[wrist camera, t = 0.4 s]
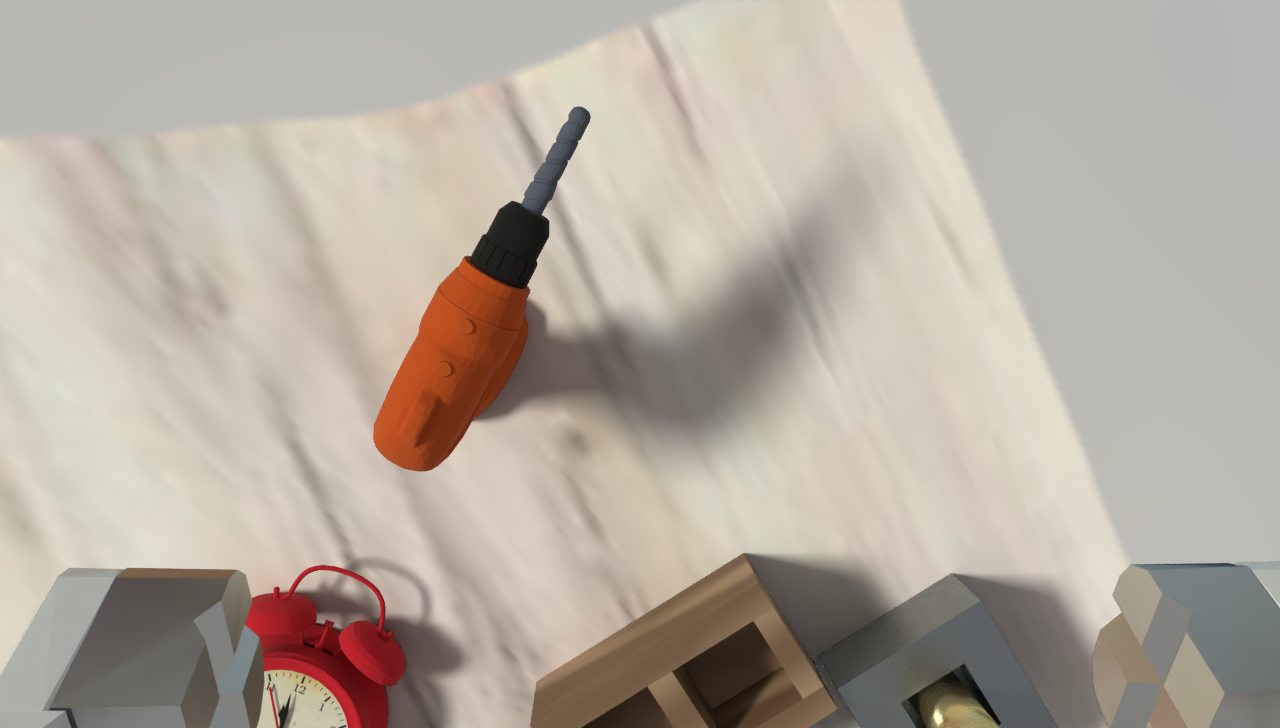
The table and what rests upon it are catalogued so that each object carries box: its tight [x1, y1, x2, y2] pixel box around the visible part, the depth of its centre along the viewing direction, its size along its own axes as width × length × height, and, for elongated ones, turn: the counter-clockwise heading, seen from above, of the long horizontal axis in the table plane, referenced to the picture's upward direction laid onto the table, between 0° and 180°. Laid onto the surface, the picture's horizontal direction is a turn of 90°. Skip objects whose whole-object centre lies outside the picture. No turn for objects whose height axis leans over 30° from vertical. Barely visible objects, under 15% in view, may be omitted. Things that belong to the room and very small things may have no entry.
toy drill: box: [373, 107, 591, 471], centre depth 54 cm, size 5×19×15 cm, turn 151°
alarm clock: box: [245, 565, 406, 728], centre depth 61 cm, size 10×6×15 cm
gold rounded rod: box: [907, 671, 1000, 728], centre depth 59 cm, size 3×3×10 cm
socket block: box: [819, 573, 1058, 728], centre depth 62 cm, size 9×9×5 cm
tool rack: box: [530, 553, 838, 728], centre depth 61 cm, size 8×14×6 cm, turn 122°
